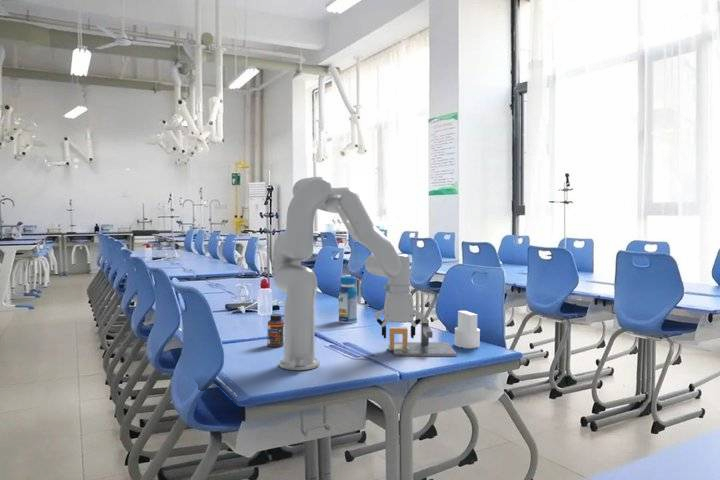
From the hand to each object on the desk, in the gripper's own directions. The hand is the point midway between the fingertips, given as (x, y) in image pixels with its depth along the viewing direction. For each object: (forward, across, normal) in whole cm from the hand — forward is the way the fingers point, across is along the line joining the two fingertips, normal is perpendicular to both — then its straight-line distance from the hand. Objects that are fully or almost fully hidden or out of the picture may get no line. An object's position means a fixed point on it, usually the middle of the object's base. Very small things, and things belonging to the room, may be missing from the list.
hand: (398, 337), depth 194 cm
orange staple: (+3, 0, 0) cm, 3 cm away
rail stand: (+5, +8, 0) cm, 9 cm away
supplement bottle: (+5, -44, +7) cm, 45 cm away
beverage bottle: (+5, -18, +51) cm, 54 cm away
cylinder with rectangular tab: (+5, +26, +8) cm, 28 cm away
